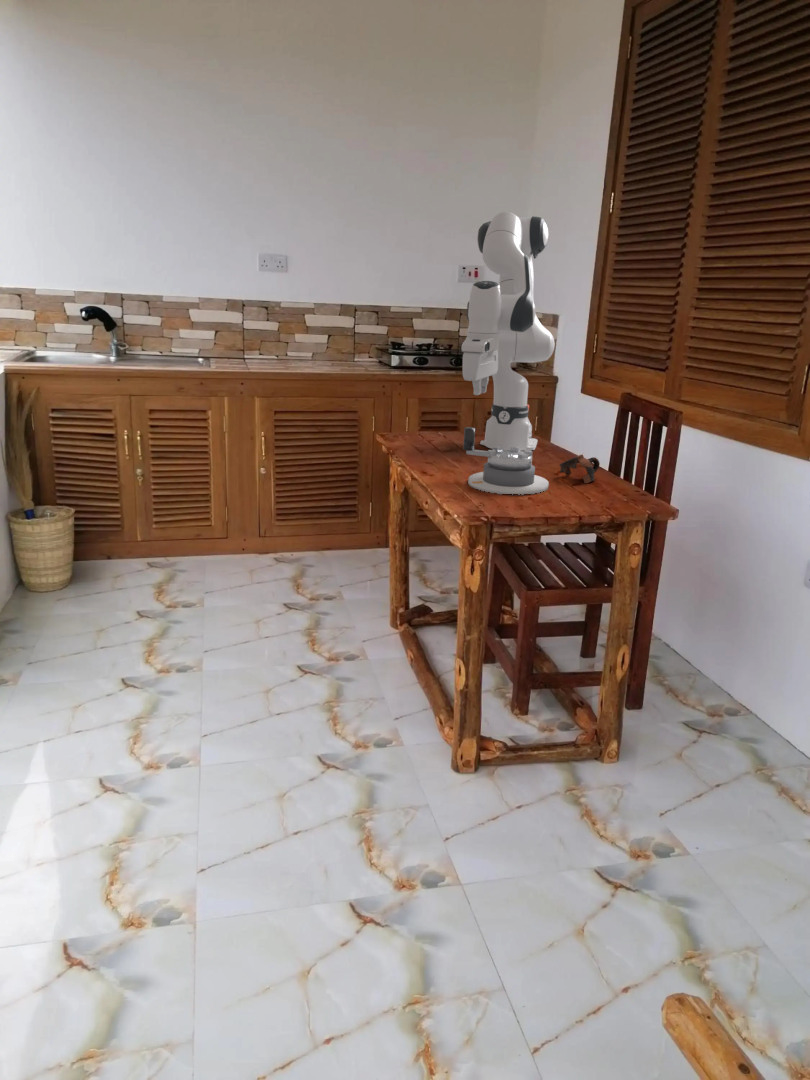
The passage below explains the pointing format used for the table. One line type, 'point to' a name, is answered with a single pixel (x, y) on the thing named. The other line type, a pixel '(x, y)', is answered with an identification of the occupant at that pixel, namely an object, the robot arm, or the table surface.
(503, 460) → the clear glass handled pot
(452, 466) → the table surface
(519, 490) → the base plate
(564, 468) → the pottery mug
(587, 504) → the table surface
